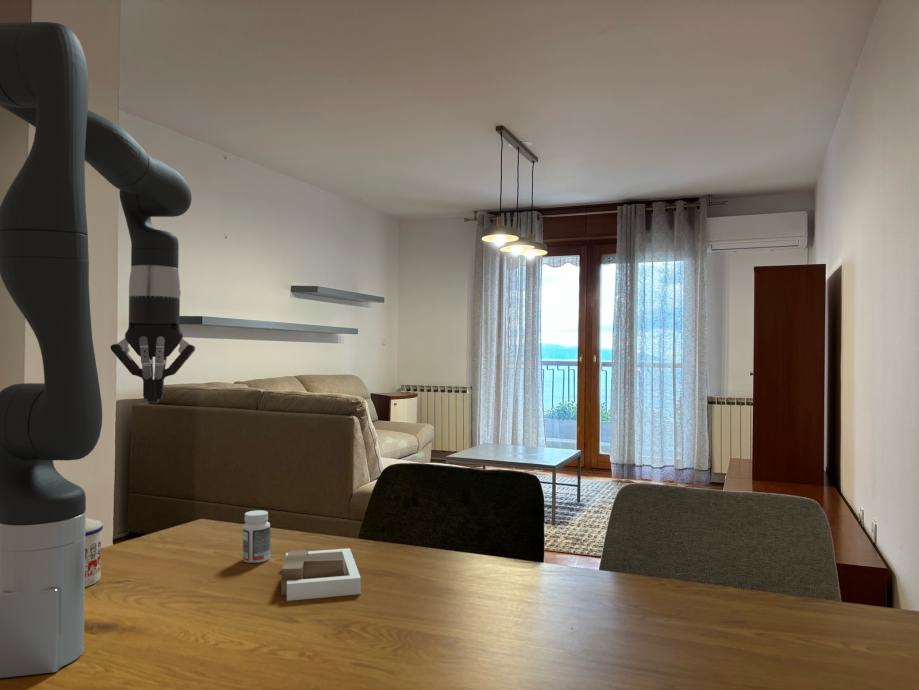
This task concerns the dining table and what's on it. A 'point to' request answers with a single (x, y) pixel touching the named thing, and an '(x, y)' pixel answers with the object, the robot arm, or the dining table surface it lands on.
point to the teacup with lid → (92, 551)
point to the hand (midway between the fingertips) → (153, 402)
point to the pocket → (327, 580)
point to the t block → (309, 567)
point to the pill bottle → (256, 537)
